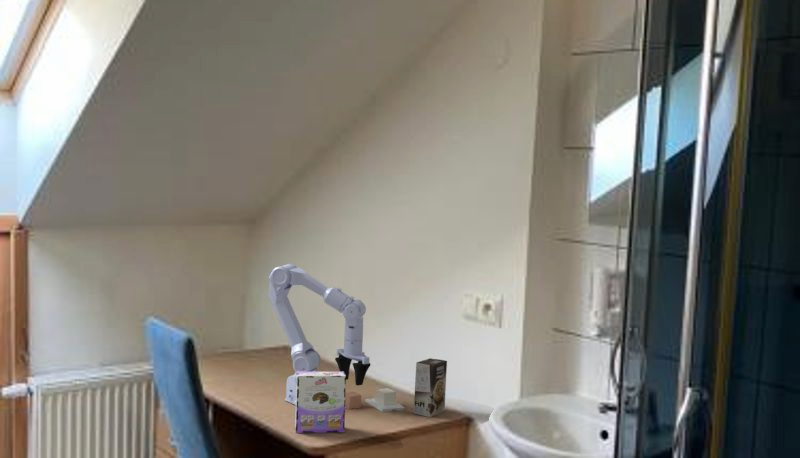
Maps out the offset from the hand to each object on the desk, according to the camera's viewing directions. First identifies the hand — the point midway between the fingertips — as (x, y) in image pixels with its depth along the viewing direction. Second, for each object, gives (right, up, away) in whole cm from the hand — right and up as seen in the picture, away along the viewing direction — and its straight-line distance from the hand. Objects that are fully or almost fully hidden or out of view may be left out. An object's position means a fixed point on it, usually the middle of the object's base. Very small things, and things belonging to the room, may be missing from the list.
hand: (351, 382), depth 265 cm
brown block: (0, -8, 0) cm, 8 cm away
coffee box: (+24, -9, -3) cm, 26 cm away
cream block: (+10, -7, +3) cm, 13 cm away
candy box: (-8, -9, -25) cm, 28 cm away
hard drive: (+10, -9, +3) cm, 14 cm away
